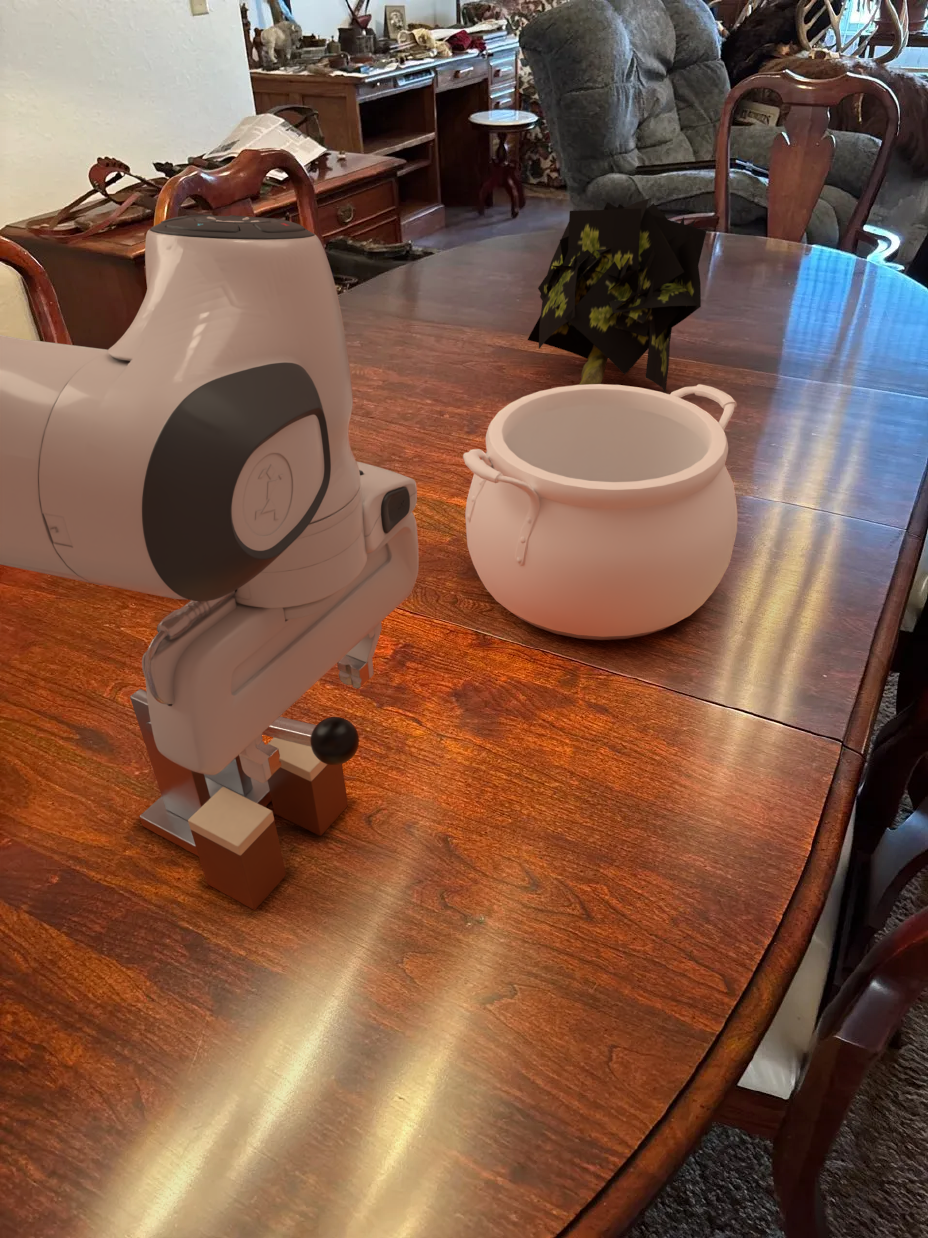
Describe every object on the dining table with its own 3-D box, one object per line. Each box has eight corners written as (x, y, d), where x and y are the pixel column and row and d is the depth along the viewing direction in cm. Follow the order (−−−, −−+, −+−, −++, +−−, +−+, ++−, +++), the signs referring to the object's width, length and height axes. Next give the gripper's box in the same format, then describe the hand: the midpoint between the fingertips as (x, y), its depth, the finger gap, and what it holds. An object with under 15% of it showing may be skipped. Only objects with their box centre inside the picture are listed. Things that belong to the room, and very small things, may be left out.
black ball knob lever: (373, 748, 58) (361, 711, 57) (345, 779, 56) (331, 741, 55) (193, 705, 67) (178, 672, 66) (163, 731, 65) (147, 697, 64)
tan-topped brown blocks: (254, 911, 64) (238, 846, 60) (206, 884, 66) (187, 820, 62) (348, 805, 72) (339, 741, 67) (302, 784, 73) (291, 720, 69)
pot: (552, 701, 81) (561, 534, 70) (410, 559, 99) (400, 410, 88) (790, 597, 92) (828, 440, 82) (623, 487, 110) (637, 347, 100)
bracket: (280, 791, 73) (255, 669, 65) (210, 863, 67) (174, 739, 60) (214, 760, 76) (182, 638, 68) (142, 826, 70) (98, 703, 63)
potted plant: (654, 442, 123) (746, 212, 115) (496, 384, 123) (577, 152, 115) (640, 437, 143) (717, 241, 136) (505, 387, 144) (574, 190, 136)
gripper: (187, 663, 41) (238, 862, 49) (432, 469, 55) (440, 650, 63) (88, 620, 43) (153, 816, 52) (346, 446, 57) (364, 622, 66)
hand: (312, 723), depth 57 cm, fingers open, 8 cm apart
